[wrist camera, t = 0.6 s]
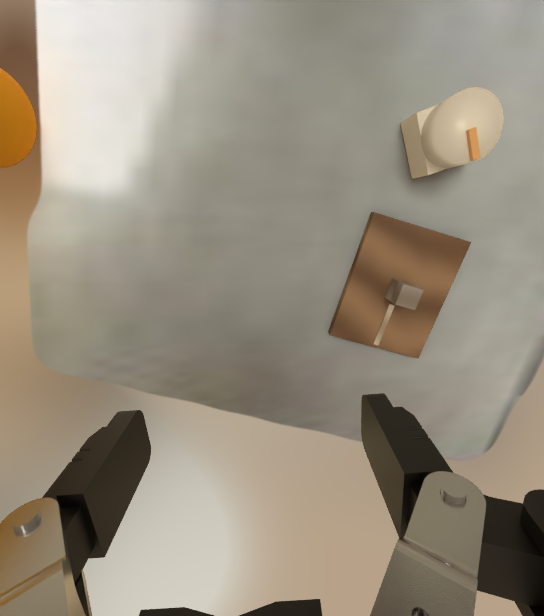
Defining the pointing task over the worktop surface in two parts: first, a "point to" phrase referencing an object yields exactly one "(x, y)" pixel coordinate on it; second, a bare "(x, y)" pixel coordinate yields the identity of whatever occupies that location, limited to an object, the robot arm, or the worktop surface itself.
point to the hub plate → (402, 264)
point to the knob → (453, 132)
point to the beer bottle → (15, 122)
